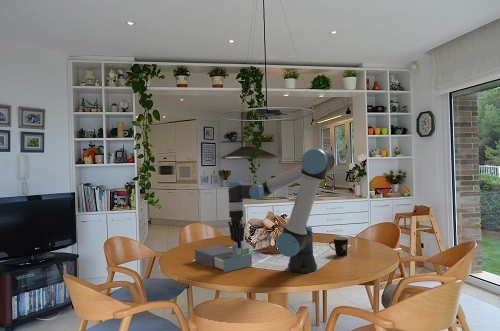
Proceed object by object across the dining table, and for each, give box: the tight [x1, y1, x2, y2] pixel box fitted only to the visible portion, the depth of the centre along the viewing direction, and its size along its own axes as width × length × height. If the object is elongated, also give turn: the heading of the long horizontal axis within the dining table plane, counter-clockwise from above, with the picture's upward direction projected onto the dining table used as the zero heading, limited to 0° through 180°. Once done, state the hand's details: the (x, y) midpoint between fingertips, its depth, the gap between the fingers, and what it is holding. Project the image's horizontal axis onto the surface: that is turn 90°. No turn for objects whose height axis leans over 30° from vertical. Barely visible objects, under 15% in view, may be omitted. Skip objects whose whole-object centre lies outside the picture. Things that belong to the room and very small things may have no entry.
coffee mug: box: [328, 236, 349, 257], centre depth 212 cm, size 12×9×10 cm
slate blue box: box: [194, 244, 232, 269], centre depth 206 cm, size 20×18×7 cm
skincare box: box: [241, 229, 251, 255], centre depth 221 cm, size 8×7×16 cm
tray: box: [213, 243, 253, 273], centre depth 197 cm, size 20×18×14 cm
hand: (237, 253), depth 189 cm, fingers closed on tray
